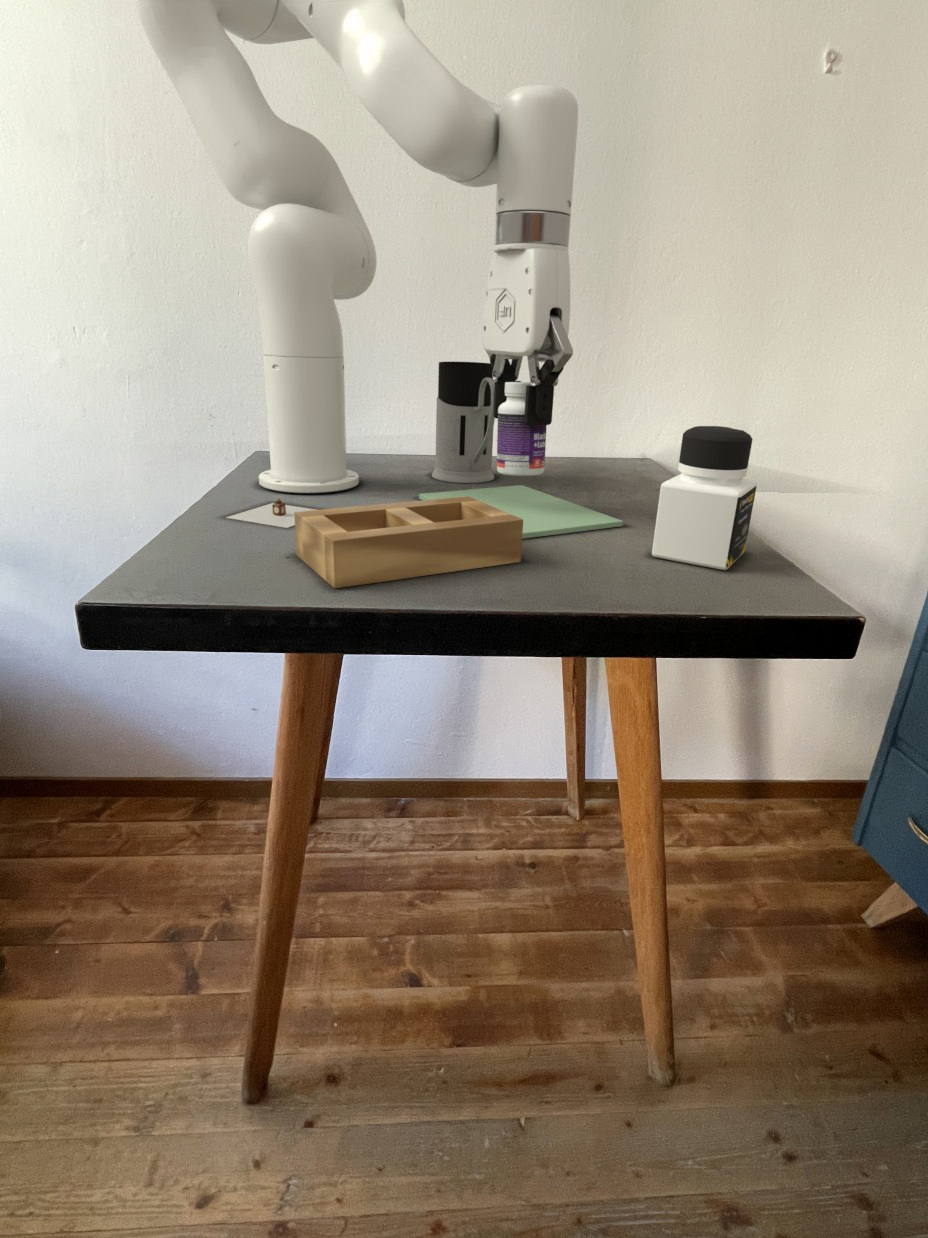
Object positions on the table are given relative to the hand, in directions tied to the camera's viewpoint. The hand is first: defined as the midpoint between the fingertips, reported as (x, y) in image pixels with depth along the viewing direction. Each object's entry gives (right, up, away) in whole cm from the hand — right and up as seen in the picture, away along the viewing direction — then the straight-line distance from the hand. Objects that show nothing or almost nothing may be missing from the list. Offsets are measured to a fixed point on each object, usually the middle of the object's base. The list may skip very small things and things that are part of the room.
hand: (521, 419), depth 81 cm
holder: (-11, -16, -14) cm, 25 cm away
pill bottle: (0, -6, +2) cm, 6 cm away
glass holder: (-6, -3, +20) cm, 21 cm away
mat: (0, -10, +4) cm, 10 cm away
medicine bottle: (+16, -16, -10) cm, 25 cm away
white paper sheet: (-26, -11, -1) cm, 29 cm away
